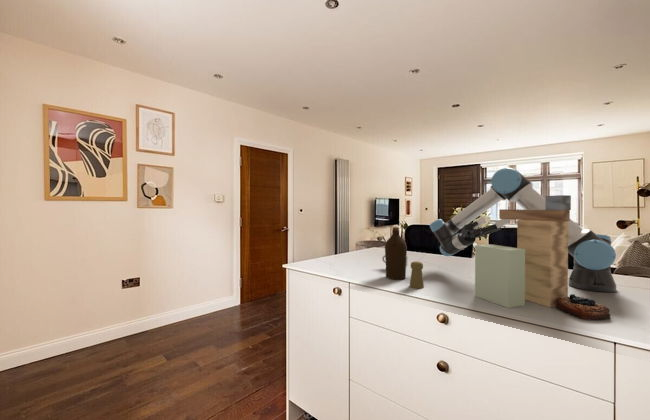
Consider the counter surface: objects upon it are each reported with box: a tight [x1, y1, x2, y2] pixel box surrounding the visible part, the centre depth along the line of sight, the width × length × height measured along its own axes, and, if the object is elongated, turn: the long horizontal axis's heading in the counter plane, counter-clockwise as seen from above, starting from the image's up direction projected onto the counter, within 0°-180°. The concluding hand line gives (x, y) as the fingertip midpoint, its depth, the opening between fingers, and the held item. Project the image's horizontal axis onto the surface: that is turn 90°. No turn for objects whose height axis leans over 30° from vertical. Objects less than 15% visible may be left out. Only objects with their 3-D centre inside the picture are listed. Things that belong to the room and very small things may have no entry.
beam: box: [498, 194, 572, 221], centre depth 109 cm, size 5×24×9 cm, turn 18°
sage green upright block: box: [474, 243, 526, 309], centre depth 105 cm, size 8×14×20 cm, turn 18°
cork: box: [409, 260, 425, 290], centre depth 124 cm, size 6×6×11 cm
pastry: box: [555, 293, 612, 321], centre depth 92 cm, size 11×12×6 cm
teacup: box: [381, 254, 409, 268], centre depth 159 cm, size 14×11×8 cm
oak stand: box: [516, 220, 569, 308], centre depth 105 cm, size 9×12×30 cm
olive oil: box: [384, 226, 408, 281], centre depth 140 cm, size 11×11×25 cm
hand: (496, 219), depth 123 cm, fingers open, 13 cm apart
